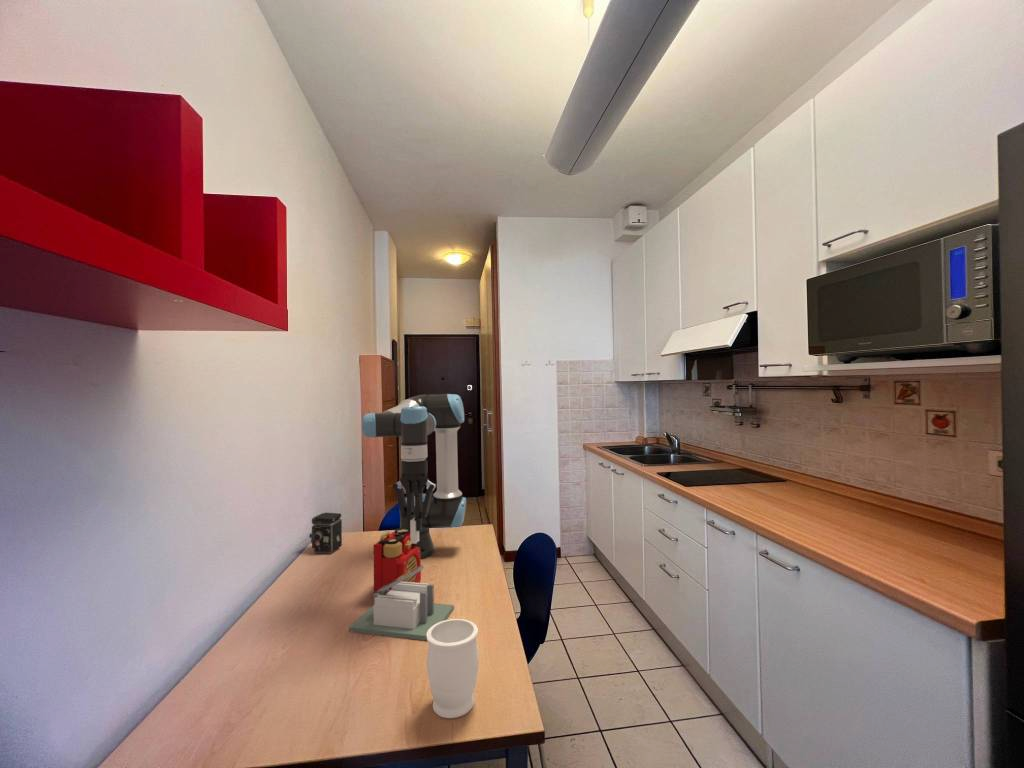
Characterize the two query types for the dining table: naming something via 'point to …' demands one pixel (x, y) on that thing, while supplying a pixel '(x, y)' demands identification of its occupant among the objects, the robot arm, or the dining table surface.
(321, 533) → the camera
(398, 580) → the strap
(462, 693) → the jar
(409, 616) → the heatsink
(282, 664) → the dining table surface
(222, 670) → the dining table surface
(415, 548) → the radio
